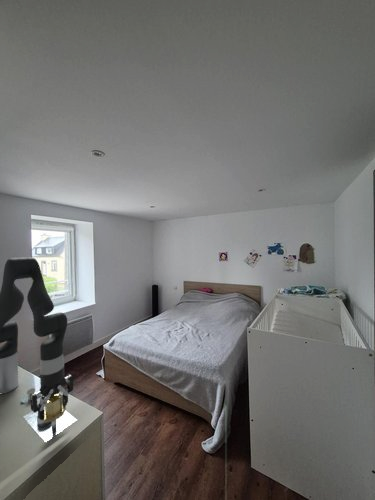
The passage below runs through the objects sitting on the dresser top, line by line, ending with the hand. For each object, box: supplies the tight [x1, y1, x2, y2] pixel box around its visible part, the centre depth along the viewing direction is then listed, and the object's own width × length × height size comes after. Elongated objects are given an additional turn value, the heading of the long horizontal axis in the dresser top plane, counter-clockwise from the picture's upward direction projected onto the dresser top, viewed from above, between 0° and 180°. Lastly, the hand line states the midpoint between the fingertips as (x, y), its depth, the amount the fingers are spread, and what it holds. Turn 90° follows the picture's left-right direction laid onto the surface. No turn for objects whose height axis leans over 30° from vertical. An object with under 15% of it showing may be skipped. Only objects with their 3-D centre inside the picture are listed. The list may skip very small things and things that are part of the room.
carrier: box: [22, 407, 78, 443], centre depth 81 cm, size 21×11×5 cm, turn 57°
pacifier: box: [20, 387, 42, 404], centre depth 93 cm, size 7×6×6 cm
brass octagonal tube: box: [43, 393, 67, 423], centre depth 75 cm, size 7×7×6 cm
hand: (53, 411), depth 75 cm, fingers closed on brass octagonal tube, 7 cm apart
